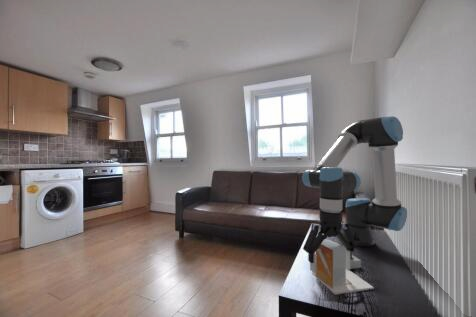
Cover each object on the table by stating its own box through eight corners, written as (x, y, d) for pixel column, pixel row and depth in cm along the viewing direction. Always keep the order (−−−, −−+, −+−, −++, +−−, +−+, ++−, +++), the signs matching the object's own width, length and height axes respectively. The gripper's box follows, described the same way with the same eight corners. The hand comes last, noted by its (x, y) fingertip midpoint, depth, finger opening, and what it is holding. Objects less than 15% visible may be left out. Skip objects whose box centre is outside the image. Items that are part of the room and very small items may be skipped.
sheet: (346, 269, 84) (346, 267, 84) (373, 289, 71) (373, 287, 71) (312, 273, 81) (312, 271, 81) (334, 294, 68) (334, 292, 68)
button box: (348, 259, 92) (348, 252, 92) (360, 267, 86) (360, 260, 86) (334, 261, 91) (334, 254, 91) (346, 269, 84) (346, 261, 84)
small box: (315, 276, 78) (315, 241, 78) (328, 272, 80) (328, 238, 80) (332, 289, 70) (333, 249, 70) (346, 284, 73) (346, 246, 73)
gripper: (352, 206, 82) (352, 261, 82) (293, 209, 76) (293, 267, 76) (368, 211, 74) (368, 271, 74) (304, 214, 69) (304, 279, 69)
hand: (330, 269), depth 75 cm, fingers open, 13 cm apart
